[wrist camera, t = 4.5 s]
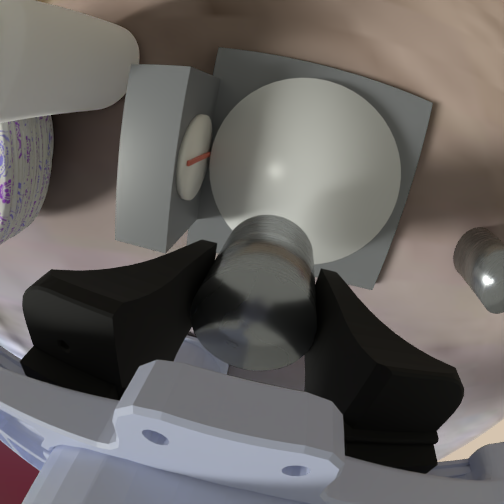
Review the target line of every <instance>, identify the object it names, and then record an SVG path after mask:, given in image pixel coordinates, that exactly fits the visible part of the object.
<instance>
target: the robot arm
mask: <svg viewBox="0 0 504 504" xmlns="http://www.w3.org/2000/svg"><path fill="white" fill-rule="evenodd" d="M216 249H217V243H215V242H211V241H207V240H203V239H202V240H199V241H197V242H194V243H192V244H190V245H187V246H185V247H183V248H180V249H178V250H176V251H174V252H171V253H168V254H166V255H163V256H160V257H158V258H155V259H152V260H149V261H145V262H142V263H138V264H134V265H129V266H123V267H117V268H111V269H102V270H85V271H73V270H53V269H51V270H50V271H49V272H47V273H46V274H45V275H44V276H42V277H41V278H40V279H39V280H37V281H36V282H35V283H34V284H33V285H31V286H30V287H29V288H28V289H27V290H26V291H25V293H24V295H23V302H22V307H23V312H24V317H25V320H26V324H27V327H28V330H29V333H30V336H31V339H32V342H33V345H34V346H33V347H32V348H31V349H30V351H29V352H28V353H27V354H26V355H25V356H24V357H23V358H22V360H21V359H20V358H18V357H16V356H15V355H13V354H12V353H10V352H9V351H7V350H6V349H4V348H3V347H1V346H0V440H1V441H2V442H3V443H5V444H6V445H7V446H8V447H9V448H11V449H12V450H13V451H14V452H16V453H17V454H18V455H19V456H21V457H22V458H23V459H24V460H26V461H27V462H28V463H30V464H31V465H33V466H34V467H35V468H37V469H38V470H39V471H40V472H39V474H38V476H37V477H36V479H35V481H34V483H33V485H32V486H31V488H30V490H29V492H28V494H27V495H26V497H25V499H24V501H23V502H22V504H504V442H500V443H494V444H488V445H485V446H483V447H481V448H480V449H478V450H477V451H476V452H474V453H473V454H472V455H471V456H470V458H469V459H462V460H455V461H444V462H437V458H436V454H435V449H434V445H433V444H436V443H437V442H438V439H439V438H438V435H437V430H438V429H439V428H440V427H441V426H442V425H443V424H444V423H445V422H446V421H447V420H448V418H449V417H450V416H451V415H452V414H453V413H454V412H455V410H456V409H457V408H458V406H459V405H460V403H461V401H462V399H463V396H464V388H463V385H462V383H461V380H460V378H459V375H458V373H457V370H456V368H455V367H453V366H450V365H448V364H446V363H444V362H442V361H440V360H437V359H435V358H433V357H431V356H429V355H428V354H426V353H424V352H422V351H421V350H419V349H417V348H416V347H414V346H413V345H411V344H409V343H408V342H406V341H405V340H404V339H402V338H401V337H400V336H398V335H397V334H395V333H394V332H393V331H392V330H390V329H389V328H388V327H387V326H386V325H385V324H383V323H382V322H381V321H380V320H379V319H378V318H377V317H376V316H375V315H374V314H373V313H372V312H371V311H370V310H369V309H368V308H367V307H366V306H365V305H364V304H363V303H362V302H361V300H360V299H359V298H358V297H357V296H356V295H355V293H354V292H353V291H352V290H351V289H350V287H349V286H348V285H347V284H346V282H345V281H344V280H343V279H342V278H341V276H340V275H339V274H338V273H337V272H335V271H330V270H326V269H322V268H321V270H320V273H319V276H318V279H317V281H316V284H315V291H316V313H317V331H316V336H315V339H314V341H313V343H312V345H311V347H310V348H309V350H308V351H307V352H306V353H305V390H304V391H298V390H293V389H288V388H283V387H278V386H273V385H269V384H264V383H260V382H255V381H251V380H247V379H242V378H238V377H234V376H230V375H227V372H228V367H229V364H227V363H225V362H223V361H221V360H219V359H218V358H216V357H215V356H214V355H212V354H211V353H210V352H209V351H208V350H206V349H205V348H204V346H203V345H202V344H201V343H200V341H199V340H198V338H195V337H192V336H188V335H187V334H188V332H189V331H190V329H191V327H192V324H191V318H190V311H191V305H192V302H193V299H194V297H195V295H196V293H197V292H198V290H199V288H200V286H201V284H202V283H203V281H204V279H205V277H206V276H207V274H208V272H209V270H210V268H211V267H212V265H213V263H214V261H215V256H216Z"/></svg>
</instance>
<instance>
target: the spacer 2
mask: <svg viewBox="0 0 504 504" xmlns="http://www.w3.org/2000/svg"><path fill="white" fill-rule="evenodd" d="M453 260H454V266H455V268H456V270H457V271H458V273H459V274H460V275H461V276H462V278H463V279H464V280H465V281H466V283H467V284H468V285H469V286H470V288H471V289H472V290H473V292H474V293H475V294H476V296H477V297H478V298H479V299H480V301H481V302H482V304H483V305H484V306H485V308H486V309H487V310H488V311H489V312H491V313H495V314H498V313H502V312H504V243H503V242H502V241H501V240H499V239H498V238H497V237H496V236H494V235H493V234H492V233H491V232H489V231H488V230H487V229H485V228H474V229H471V230H469V231H468V232H466V233H465V234H464V235H463V236H462V237H461V238H460V240H459V241H458V243H457V245H456V248H455V251H454V256H453Z"/></svg>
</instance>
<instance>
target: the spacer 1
mask: <svg viewBox="0 0 504 504" xmlns="http://www.w3.org/2000/svg"><path fill="white" fill-rule="evenodd" d="M190 318H191V324H192V327H193V331H194V333H195V335H196V337H197V338H198V340H199V341H200V343H201V344H202V345H203V346H204V348H205V349H206V350H208V351H209V352H210V353H211V354H212V355H214V356H215V357H216V358H218V359H219V360H221V361H223V362H225V363H227V364H229V365H232V366H235V367H238V368H241V369H246V370H254V371H267V370H274V369H279V368H282V367H285V366H287V365H290V364H292V363H294V362H295V361H297V360H298V359H300V358H301V357H302V356H303V355H304V354H305V353H306V352H307V351H308V350H309V348H310V347H311V345H312V343H313V341H314V339H315V336H316V331H317V313H316V291H315V273H314V258H313V249H312V245H311V242H310V240H309V238H308V236H307V235H306V234H305V232H304V231H303V230H302V229H301V228H300V227H299V226H298V225H297V224H295V223H294V222H292V221H290V220H288V219H286V218H284V217H280V216H276V215H258V216H254V217H251V218H248V219H246V220H245V221H243V222H241V223H240V224H239V225H237V226H236V227H235V228H234V230H233V231H232V232H231V234H230V235H229V237H228V239H227V241H226V242H225V244H224V246H223V248H222V249H221V251H220V253H219V254H218V256H217V258H216V260H215V261H214V263H213V265H212V267H211V268H210V270H209V272H208V274H207V276H206V277H205V279H204V281H203V283H202V284H201V286H200V288H199V290H198V292H197V293H196V295H195V297H194V299H193V302H192V305H191V311H190Z"/></svg>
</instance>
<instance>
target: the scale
mask: <svg viewBox="0 0 504 504" xmlns="http://www.w3.org/2000/svg"><path fill="white" fill-rule="evenodd" d="M432 104H433V103H432V102H429V101H427V100H425V99H422V98H420V97H418V96H415V95H413V94H410V93H408V92H405V91H403V90H400V89H397V88H395V87H392V86H389V85H386V84H384V83H381V82H378V81H375V80H372V79H369V78H366V77H362V76H359V75H356V74H353V73H349V72H346V71H342V70H339V69H335V68H331V67H328V66H324V65H320V64H315V63H311V62H307V61H302V60H298V59H293V58H288V57H283V56H278V55H272V54H266V53H260V52H253V51H246V50H239V49H230V48H221V47H219V48H218V53H217V58H216V62H215V67H214V72H213V76H212V75H210V74H208V73H205V72H203V71H200V70H198V69H195V68H193V67H189V66H175V65H151V64H131V67H130V73H129V78H128V84H127V91H126V97H125V104H124V111H123V119H122V127H121V136H120V147H119V158H118V172H117V189H116V218H115V240H117V241H121V242H125V243H129V244H132V245H136V246H140V247H143V248H147V249H151V250H155V251H159V252H162V253H166V252H167V251H168V250H169V249H170V248H171V247H172V246H173V245H174V244H175V243H176V241H177V240H178V239H179V238H180V237H181V236H182V235H183V234H184V233H185V232H186V231H187V230H188V237H187V245H190V244H192V243H194V242H197V241H199V240H202V239H203V240H207V241H211V242H215V243H217V249H216V253H220V251H221V249H222V248H223V246H224V244H225V242H226V241H227V239H228V237H229V235H230V234H231V232H232V231H233V230H234V228H235V227H236V226H237V225H239V224H240V223H241V222H243V221H245V220H246V219H248V218H251V217H254V216H258V215H276V216H280V217H284V218H286V219H288V220H290V221H292V222H294V223H295V224H297V225H298V226H299V227H300V228H301V229H302V230H303V231H304V232H305V234H306V235H307V236H308V238H309V240H310V242H311V245H312V249H313V258H314V273H315V277H318V276H319V273H320V270H321V268H322V269H326V270H330V271H335V272H337V273H338V274H339V275H340V276H341V278H342V279H343V280H344V281H345V282H346V284H348V285H353V286H357V287H361V288H365V289H370V290H372V289H373V287H374V285H375V282H376V280H377V278H378V275H379V273H380V270H381V268H382V265H383V263H384V260H385V258H386V255H387V253H388V250H389V248H390V245H391V242H392V240H393V237H394V234H395V232H396V229H397V226H398V223H399V220H400V218H401V215H402V212H403V209H404V206H405V203H406V200H407V197H408V194H409V191H410V187H411V184H412V181H413V178H414V174H415V171H416V168H417V164H418V161H419V157H420V153H421V150H422V146H423V142H424V138H425V134H426V130H427V126H428V122H429V118H430V113H431V109H432Z"/></svg>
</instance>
